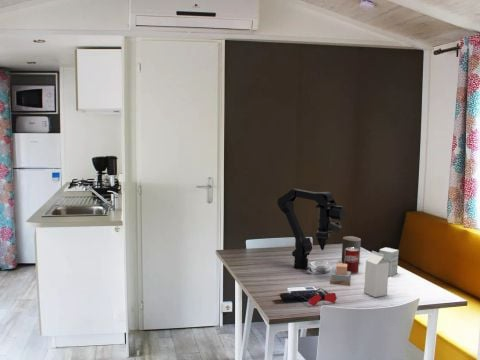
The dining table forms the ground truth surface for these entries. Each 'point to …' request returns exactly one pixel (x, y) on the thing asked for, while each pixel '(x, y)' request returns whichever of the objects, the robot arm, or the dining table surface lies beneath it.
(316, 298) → the glasses
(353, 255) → the soda can
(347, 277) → the tower top
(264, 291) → the dining table surface
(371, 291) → the milk carton
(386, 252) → the supplement box
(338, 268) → the block
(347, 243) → the pillar candle
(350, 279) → the tower base
